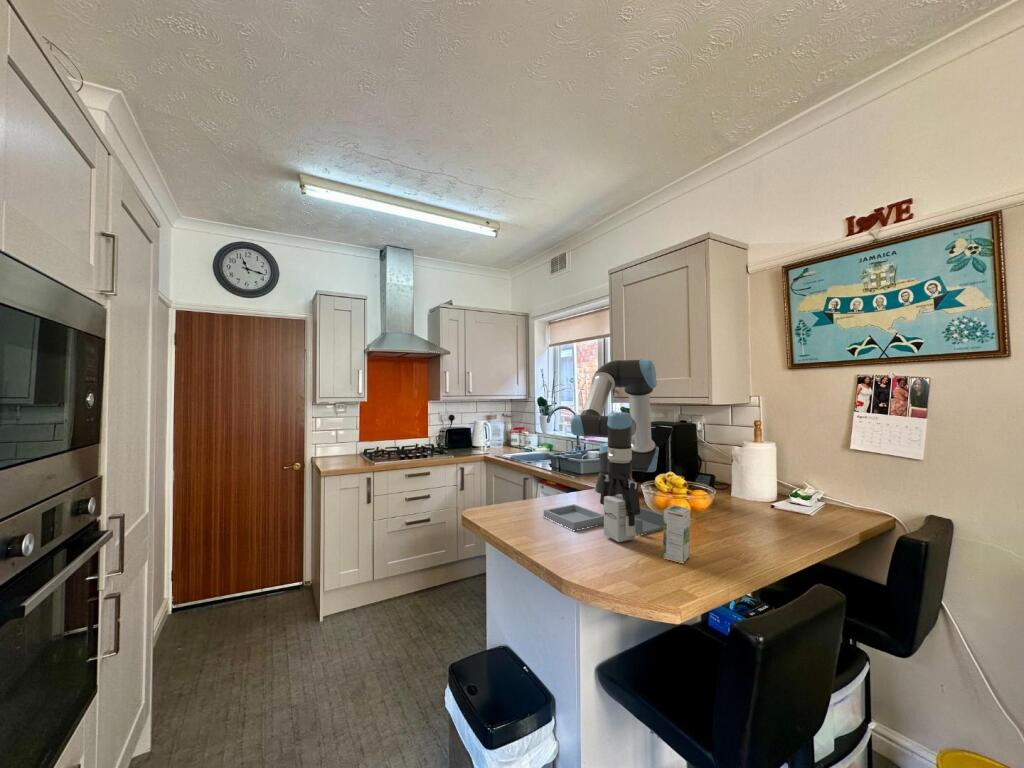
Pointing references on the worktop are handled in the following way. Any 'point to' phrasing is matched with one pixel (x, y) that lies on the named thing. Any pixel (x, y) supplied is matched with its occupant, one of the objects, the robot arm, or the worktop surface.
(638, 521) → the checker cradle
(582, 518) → the tray
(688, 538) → the syrup box
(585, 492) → the worktop surface
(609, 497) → the supplement box
